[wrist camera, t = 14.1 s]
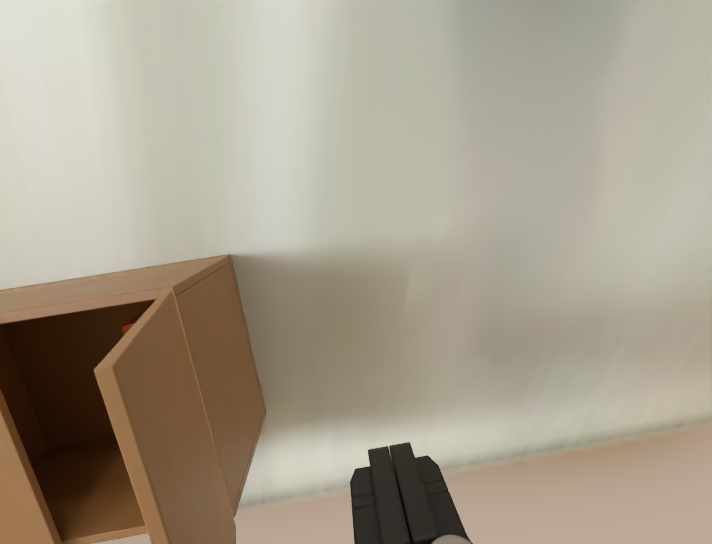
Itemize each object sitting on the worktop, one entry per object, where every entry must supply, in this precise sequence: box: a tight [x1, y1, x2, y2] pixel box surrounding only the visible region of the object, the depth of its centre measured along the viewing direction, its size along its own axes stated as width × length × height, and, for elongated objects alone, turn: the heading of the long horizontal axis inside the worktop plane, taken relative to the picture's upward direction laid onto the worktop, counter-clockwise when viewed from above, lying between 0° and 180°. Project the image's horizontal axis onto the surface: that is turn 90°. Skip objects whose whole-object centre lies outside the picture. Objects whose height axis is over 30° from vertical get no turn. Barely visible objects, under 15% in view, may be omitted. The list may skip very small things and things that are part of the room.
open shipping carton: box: [0, 255, 266, 544], centre depth 22 cm, size 17×13×10 cm
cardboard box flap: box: [94, 290, 236, 544], centre depth 13 cm, size 8×13×1 cm
